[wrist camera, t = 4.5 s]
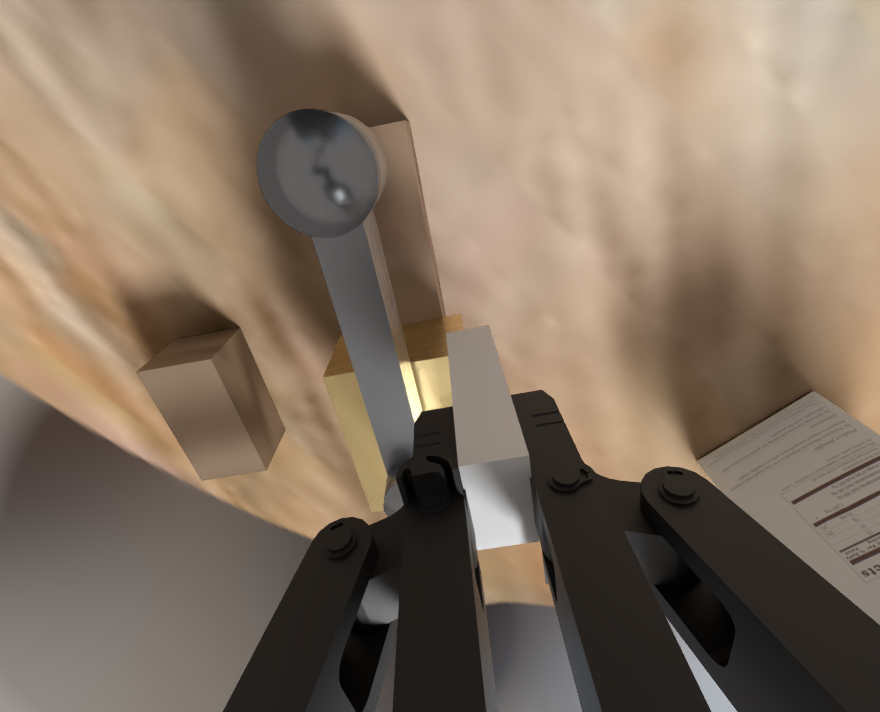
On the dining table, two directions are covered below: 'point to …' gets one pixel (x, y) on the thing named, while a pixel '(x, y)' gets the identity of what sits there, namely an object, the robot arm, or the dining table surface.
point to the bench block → (215, 403)
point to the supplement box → (812, 491)
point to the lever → (348, 259)
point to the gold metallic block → (347, 400)
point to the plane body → (406, 228)
